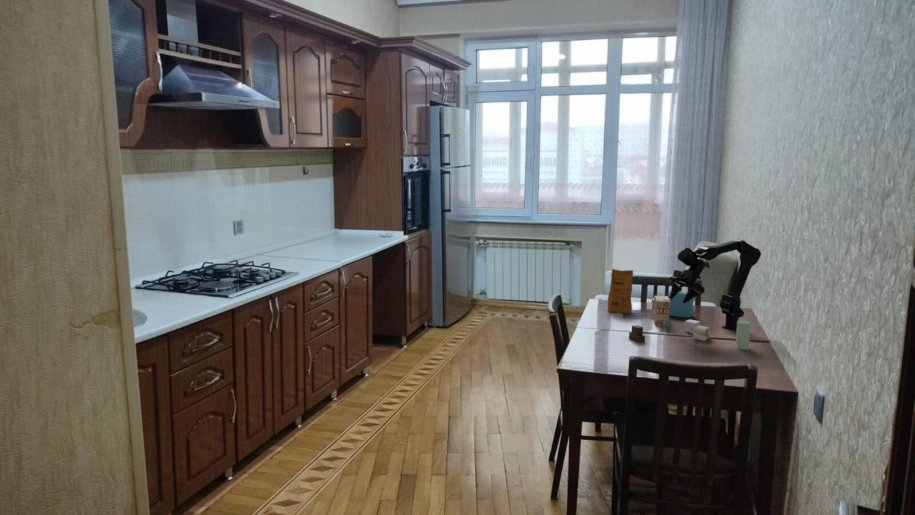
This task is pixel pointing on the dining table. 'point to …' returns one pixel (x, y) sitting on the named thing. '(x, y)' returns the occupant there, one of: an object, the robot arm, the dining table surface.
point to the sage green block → (743, 335)
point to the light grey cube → (691, 325)
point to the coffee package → (620, 291)
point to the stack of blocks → (661, 310)
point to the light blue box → (680, 305)
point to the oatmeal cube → (701, 333)
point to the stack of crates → (637, 334)
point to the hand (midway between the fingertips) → (676, 300)
